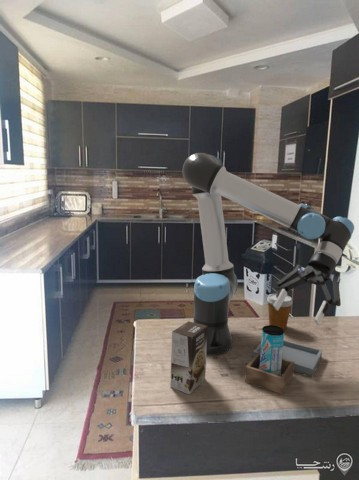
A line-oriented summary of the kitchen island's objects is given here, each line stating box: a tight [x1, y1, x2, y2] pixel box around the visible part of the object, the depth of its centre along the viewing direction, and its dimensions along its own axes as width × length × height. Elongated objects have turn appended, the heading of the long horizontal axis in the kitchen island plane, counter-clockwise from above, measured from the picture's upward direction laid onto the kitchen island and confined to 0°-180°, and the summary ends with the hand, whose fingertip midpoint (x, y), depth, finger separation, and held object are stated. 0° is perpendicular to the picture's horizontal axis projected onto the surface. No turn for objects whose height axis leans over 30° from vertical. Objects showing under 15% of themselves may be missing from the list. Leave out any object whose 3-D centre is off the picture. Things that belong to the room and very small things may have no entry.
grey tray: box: [252, 339, 323, 378], centre depth 112 cm, size 18×14×2 cm
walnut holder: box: [244, 352, 295, 395], centre depth 100 cm, size 11×11×4 cm
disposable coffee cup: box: [266, 293, 294, 331], centre depth 135 cm, size 10×10×12 cm
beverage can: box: [259, 324, 285, 376], centre depth 99 cm, size 6×6×15 cm
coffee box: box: [169, 320, 208, 395], centre depth 96 cm, size 9×6×16 cm
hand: (295, 315), depth 104 cm, fingers open, 13 cm apart
